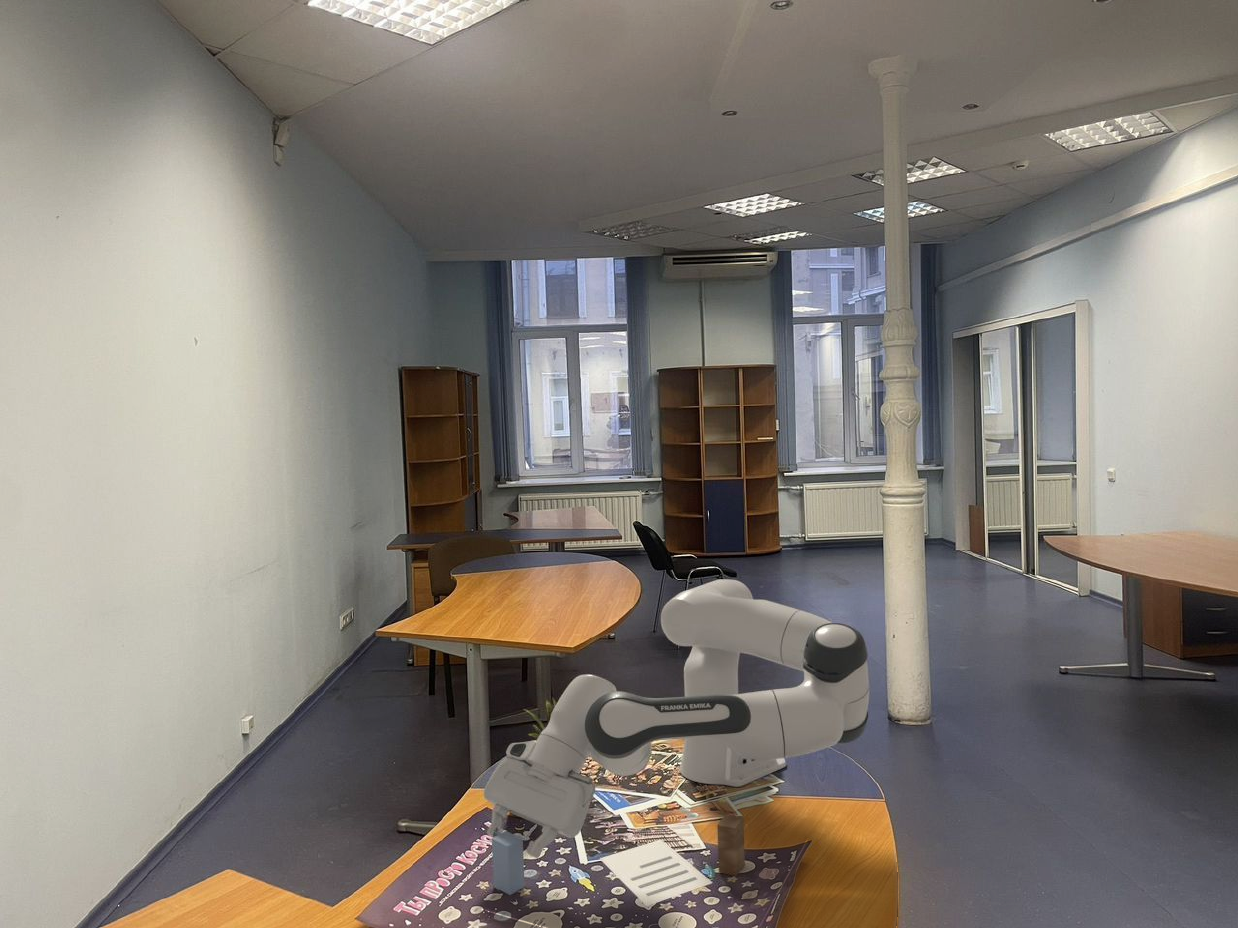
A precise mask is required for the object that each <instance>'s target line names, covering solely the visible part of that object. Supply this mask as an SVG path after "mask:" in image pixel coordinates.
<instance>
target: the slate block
mask: <svg viewBox="0 0 1238 928" xmlns="http://www.w3.org/2000/svg"><path fill="white" fill-rule="evenodd" d="M523 841H524V839H523V838H522V837H520V836H518V835H515V834H514V833H512V832H509V831H507V830H505V831H503V832H502V833H501V834H499V835H497V836H495V837H491V854H492V855H491V856H492V875H493V888H494V889H496V890H498V891H502V892H503V893H505V894H507V895H509V896H511V895H513V894H515V893H517V892H518V891H521V890H522V889H523V888H525V884H526V883H525V864H524V863H525V862H524V859H525V858H524V845H523V844H524V843H523Z"/></svg>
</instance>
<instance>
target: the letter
mask: <svg viewBox="0 0 1238 928" xmlns="http://www.w3.org/2000/svg"><path fill="white" fill-rule="evenodd" d="M599 860H600V861H601V862H602V863H603V864H604V865H605V866H607V868H608V869H609V870H610V871H611V872H612V873H613V874H614V875H615V877H617V878H618V879H619V880H620V881H621V882H622V883H623V885H625V887H627V888H628V889H629V890H630V891H631V892H632V893H633V894H634V896H636V897H637V898H638V899H639V900H640V901H641V902H642V904H643V905H645V906H646V907H648V906H651V905H654V904H657V903H660V902H662V901H665V900H668V899H671V898H674V897H677V896H679V895H683V894H686V893H688V892H691V891H695V890H696V889H700V888H703V887H705V886H708V885H711V884H713V881H711V880H710V879H709V878H708V877H706V876H705V875H704V874H703V873H702V872H700V871H699V869H697V868H696V867H695V866H693V865H692V864H691V863H690V862H689V861H688V860H687V859H685V858H684V857H683V856H682V855H680V854H679V853H678V852H677V851H675V850H674V849H673V848H671V847H670V845H668V844H667V843H666V842H665V841H664V840H662V839H657V840H654V841H651V842H649V843H645V844H642V845H639V846H635V847H632V848H628V849H626V850H623V851H619V852H617V853H612V854H609V855H607V856H603V857H600V858H599Z"/></svg>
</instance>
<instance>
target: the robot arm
mask: <svg viewBox="0 0 1238 928" xmlns="http://www.w3.org/2000/svg"><path fill="white" fill-rule="evenodd" d="M660 625H661V629H662V632H663V634H665V637H666V638H667V639H668V641H671V642H672V643H673V644H675V645H677V646H679V647H692V648H691V651H690V653H689V655H688V657H687V658H686V660H685V664H684V667H683V681H684V683H683V684H684V696H678V697H659V698H655V697H646V696H641V695H637V694H634V693H631V692H626V691H621V690H620V691H619V690H617V688H616V686H615V685H614V684H613V683H612V682H611V681H610V680H607V679H606V678H604V677H602V676H599V675H596V674H590V673H588V674H587V673H586V674H579V675H578V676H576V677H575V678H574V679H573V680H572V681H571V682H570V683H569V684H568V685H567V687H566V688H565V690H564V691H563V693H562V694H561V696H560V697H559V699H558V701H557V702H556V706H555V707H554V708H553V711H552V714H551V718H550V721H549V724H548V723H547V725H546V727H545V729H544V730H543V729H542V730H541V731H542V732H541V734H540V735H539V734H538V735H539V737H538V739H537V738H536V740H537V741H536V740H530V741H523V742H512V743H510V744H509V745H508V747H507V749H506V751H505V754H506V756H507V757H508V756H509V757H508V758H507V757H505V758H503V759H502V760H501V761H500V762H499V763H498V765H496V767H495V769H494V771H493V772H492V774H491V776H490V778H489V779H488V781H487V783H486V785H485V787H484V789H483V798H484V799H485V800H486V801H487V802H488V803H490V804H491V805H493V806H494V807H493V809H492V810H491V812H492V813H491V821H490V822H491V824H490V825H489V827H488V829H487V831H486V834H487V835H488V836H489V837H491V838H493V837H495V836H497V835H499V834H501V833H503V832H504V829H503V828H502V823H503V818H504V819H505V818H506V817H507V816H508V814H509V813H510V814H512V815H515V816H516V815H517V816H516V817H519V816H520V817H519V818H522V819H525V820H527V821H529V822H531V823H534V824H536V825H539V826H542V829H541V832H542V833H541V835H540V836H539V837H538V838H536V840H534V841H533V840H530V841H529V844H528V846H527V847H526V849H525V851H526V853H527V854H528V855H529V856H532V857H534V858H536V859H538V858H539V857H540V856H541V855H542V852H543V849H545V848H546V847H548V846H549V844H551V843H552V842H553V841H554V840H555V839H556V837H557V836H558V834H559V835H562V836H564V837H567V838H569V839H573V838H575V837H576V836H578V835H579V834H580V832H581V829H582V828H583V825H584V823H585V820H586V817H587V814H588V812H589V808H590V805H591V801H592V799H593V797H594V795H595V793H596V785H595V782H594V781H593V778H592V777H590V776H587V775H583V774H581V771H582V769H583V767H584V764H585V763H586V761H587V759H588V758H591V759H592V760H594V761H595V762H596V763H598V765H599V766H601V767H602V768H604V769H605V770H606V771H607V772H609V773H611V774H613V775H615V776H618V777H624V778H625V777H632V776H635V775H637V774H639V773H640V772H641V771H643V770H644V769H645V767H646V766H647V765H648V763H649V762H650V760H651V757H652V753H653V752H652V751H653V747H652V746H653V745H652V744H653V742H658V741H668V740H669V741H670V740H682V739H683V741H684V742H683V743H684V744H683V751H682V756H681V762H680V766H679V768H680V770H679V772H680V774H681V775H682V776H683V777H684V778H686V779H688V780H690V781H693V782H697V783H699V784H700V783H701V784H706V785H707V784H708V785H725V786H731V787H735V788H736V787H737V788H738V787H743V786H745V785H747V784H750V783H752V782H754V781H756V780H758V779H761V778H763V777H765V776H768V775H770V774H771V773H774V772H776V771H778V770H779V771H780V770H781V769H784V768H785V767H786V766H787V764H786V763H787V762H786V759H787V758H793V757H794V758H795V757H799V756H803V755H807V754H812V753H815V752H819V751H821V750H825V749H828V748H831V747H833V746H835V745H836V744H847V743H851V742H855V741H856V740H857V739H859V738H860V737H861V736H862V735H863V734H864V731H865V729H866V728H867V727H866V726H867V724H868V720H869V711H868V710H869V709H868V708H869V702H870V687H871V686H870V681H869V669H868V661H867V660H868V657H869V655H868V649H867V645H866V644H867V643H866V642H865V639H864V637H863V635H862V633H861V632H860V631H858V630H857V629H856V628H854V627H852V626H850V625H847V624H845V623H840V622H832V621H831V620H828V619H826V618H823V617H821V616H819V615H816V614H813V613H810V612H808V611H805V610H801V609H797V608H795V607H791V606H788V605H785V604H781V603H777V602H774V601H770V600H768V599H754V597H753V595H752V592H751V590H750V589H749V588H748V586H747V585H745V583H743V582H741V581H740V580H737V579H725V578H723V579H720V578H719V579H716V580H713V581H710V582H706V583H704V584H701V585H698V586H695V587H693V588H689V589H687V590H684V591H681V592H679V593H678V594H676V595H675V596H674V597H672V598H671V599H670V600H669V601H668V602H666V603H665V605H664V606H663V608H662V610H661V613H660ZM740 654H747V655H750V656H754V657H757V658H761V659H763V660H767V661H768V662H769V661H770V662H772V663H773V662H774V663H776V664H779V665H782V666H785V667H788V668H791V669H795V670H798V671H801V672H803V681H802V683H800V684H799V685H798V686H795V687H789V688H785V687H784V688H777V689H769V690H768V689H767V690H761V691H760V690H759V691H753V692H745V693H739V674H738V673H739V672H738V671H739V660H740ZM785 758H786V759H785Z"/></svg>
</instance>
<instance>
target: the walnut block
mask: <svg viewBox="0 0 1238 928" xmlns="http://www.w3.org/2000/svg"><path fill="white" fill-rule="evenodd" d="M744 824H745V823H744V816H738V815H733V814H729V813H725V814H724V816H723V817H722V818H721V819H720V821H719V822H718V823H717V824H716V825H717V829H716V830H717V856H718V857H717V858H718V872H719V873H720V874H726V875H730V876H734V877H737V876H738V875H739V873H740V872H741V870H742V869H743V867H744V866H745V864H746V861H745V860H746V859H745V857H746V856H745V832H744V830H745V826H744Z"/></svg>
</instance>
